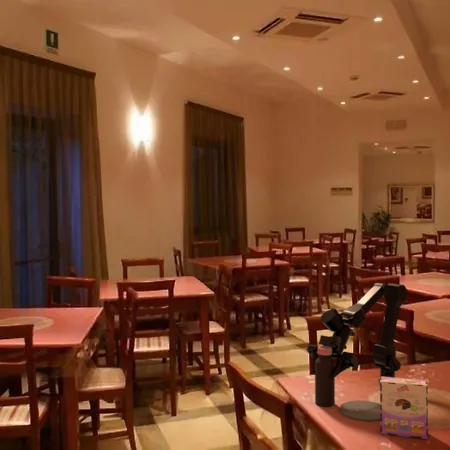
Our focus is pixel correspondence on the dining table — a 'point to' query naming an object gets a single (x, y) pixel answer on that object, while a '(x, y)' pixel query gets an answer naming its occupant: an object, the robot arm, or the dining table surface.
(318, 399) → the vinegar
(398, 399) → the candy box
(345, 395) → the dining table surface
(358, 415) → the plate
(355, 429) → the dining table surface
